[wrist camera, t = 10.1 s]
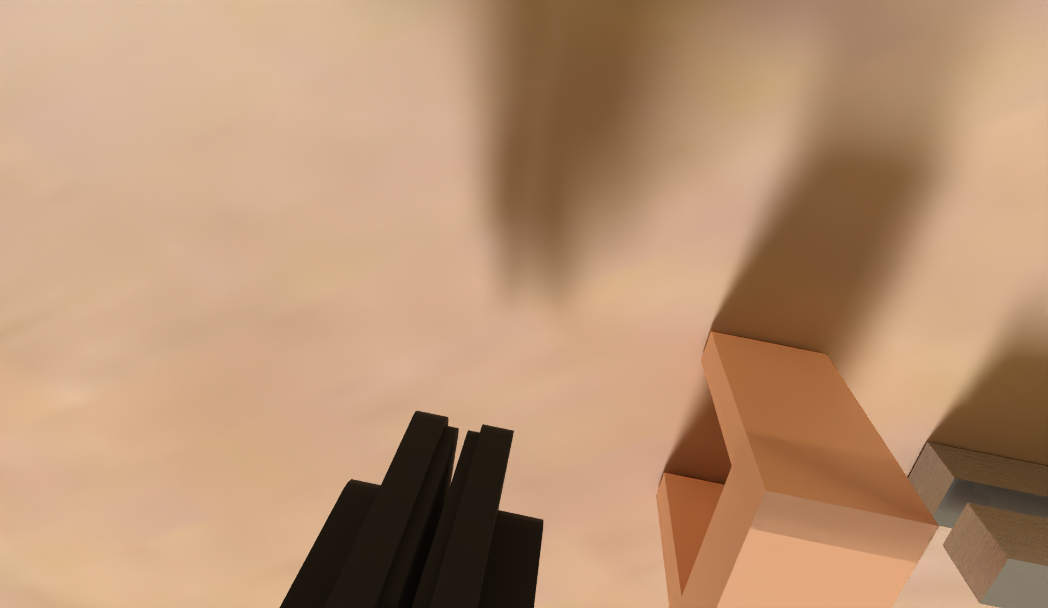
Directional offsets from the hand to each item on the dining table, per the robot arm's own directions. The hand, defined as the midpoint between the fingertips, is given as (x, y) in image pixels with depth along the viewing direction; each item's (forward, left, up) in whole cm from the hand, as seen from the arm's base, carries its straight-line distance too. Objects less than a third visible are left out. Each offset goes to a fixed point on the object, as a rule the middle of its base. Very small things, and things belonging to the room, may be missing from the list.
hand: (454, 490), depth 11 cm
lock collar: (+6, 0, -4) cm, 7 cm away
